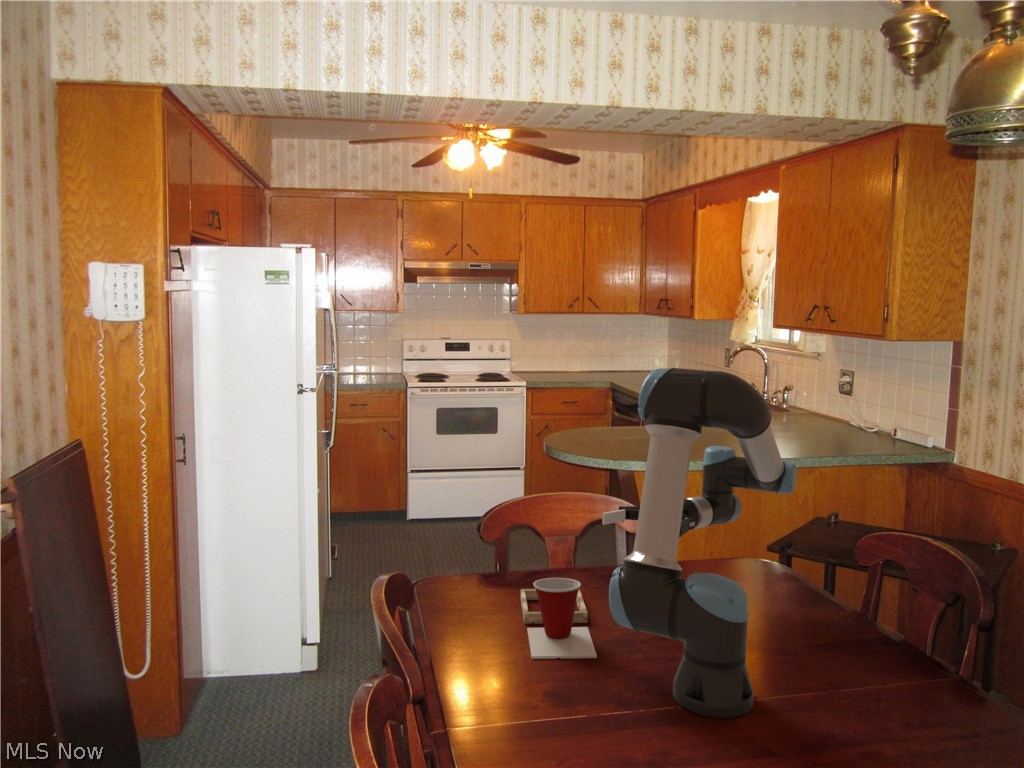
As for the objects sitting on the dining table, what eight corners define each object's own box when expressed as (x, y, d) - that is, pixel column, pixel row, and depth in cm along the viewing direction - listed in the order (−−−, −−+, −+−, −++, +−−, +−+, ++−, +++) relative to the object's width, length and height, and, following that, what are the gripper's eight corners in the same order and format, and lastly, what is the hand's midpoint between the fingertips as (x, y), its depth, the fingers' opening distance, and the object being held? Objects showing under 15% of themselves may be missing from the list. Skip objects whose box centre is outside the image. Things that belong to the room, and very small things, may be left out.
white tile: (596, 657, 167) (596, 655, 167) (531, 658, 167) (531, 656, 167) (587, 629, 181) (587, 626, 181) (527, 630, 181) (527, 627, 181)
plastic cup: (583, 624, 182) (582, 574, 181) (580, 644, 171) (579, 591, 170) (537, 623, 184) (536, 573, 183) (531, 642, 173) (529, 589, 172)
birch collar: (587, 622, 185) (587, 612, 184) (524, 623, 184) (524, 613, 184) (579, 597, 200) (579, 588, 199) (520, 598, 199) (520, 589, 199)
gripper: (727, 542, 180) (660, 557, 168) (652, 516, 201) (587, 528, 189) (729, 510, 179) (662, 523, 167) (653, 488, 200) (588, 497, 188)
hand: (622, 525), depth 178 cm, fingers open, 13 cm apart
